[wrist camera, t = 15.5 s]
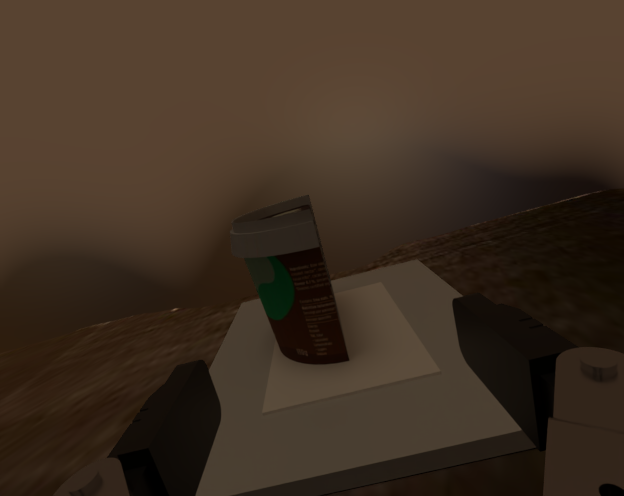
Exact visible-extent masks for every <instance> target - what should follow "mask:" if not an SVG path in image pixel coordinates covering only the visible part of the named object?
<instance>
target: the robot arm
mask: <svg viewBox="0 0 624 496" xmlns="http://www.w3.org/2000/svg"><path fill="white" fill-rule="evenodd" d="M452 307H453V313H454V319H455V325H456V330H457V336H458V342H459V347H460V350H461V353H462V355H463V358H464V360H465V361H466V363H467V364H468V366H469V367H470V368H471V369H472V371H473V372H474V373H475V374H476V375H477V377H478V378H479V379H480V380H481V381H482V383H483V384H484V385H485V386H486V387H487V389H488V390H489V391H490V392H491V393H492V394H493V396H494V397H495V398H496V399H497V400H498V402H499V403H500V404H501V405H502V406H503V408H504V409H505V410H506V411H507V412H508V414H509V415H510V416H511V417H512V418H513V420H514V421H515V422H516V423H517V424H518V426H519V427H520V428H521V429H522V430H523V432H524V433H525V434H526V435H527V436H528V438H529V439H530V440H531V441H532V442H533V444H534V445H535V446H536V447H537V448H538V450H539V451H544V450H546V459H545V474H544V489H543V496H624V354H622V353H620V352H617V351H613V350H609V349H604V348H596V347H580V348H579V347H578V346H576V345H574V344H573V343H571V342H570V341H568V340H567V339H565V338H564V337H562V336H560V335H559V334H557V333H556V332H554V331H553V330H551V329H550V328H548V327H547V326H543V324H542V323H540V322H539V321H537V320H536V319H532V317H531V316H529V315H528V314H526V313H525V312H523V311H522V310H520V309H518V308H514V307H511V306H508V305H504V304H498V305H496V304H494V303H493V302H491V301H490V300H489V299H487V298H486V297H484V296H483V295H482V294H480V293H474V294H470V295H466V296H462V297H458V298H454V299H453V301H452ZM220 422H221V405H220V401H219V398H218V395H217V392H216V390H215V387H214V384H213V381H212V379H211V376H210V373H209V370H208V368H207V365H206V363H205V362H204V361H203V360H197V361H193V362H189V363H185V364H181V365H178V366H176V368H175V369H174V371H173V372H172V374H171V375H170V377H169V378H168V380H167V381H166V383H165V384H164V385H162V386H161V387H160V388H159V389H158V390H157V391H156V392H154V393H153V394H152V395H151V396H150V397H149V398H148V399H147V401H146V402H145V404H144V405H143V407H142V408H141V410H140V413H138V414H137V415H136V417H135V418H134V420H133V423H132V424H130V425H129V427H128V428H127V430H126V431H125V433H124V434H123V435H122V437H121V438H120V440H119V441H118V443H117V444H116V445H115V447H114V448H113V450H112V451H111V453H110V454H109V456H108V457H107V458H105V459H101V460H98V461H96V462H94V463H91V464H89V465H88V466H86V467H84V468H83V469H81V470H79V471H78V472H77V473H75V474H74V475H73V476H71V477H70V478H69V479H68V480H67V481H66V482H64V483H63V484H62V485H61V486H60V488H59V489H58V490H57V491H56V492H55V494H54V495H53V496H195V495H196V492H197V490H198V487H199V484H200V481H201V478H202V475H203V472H204V469H205V466H206V463H207V460H208V457H209V454H210V451H211V449H212V446H213V443H214V440H215V437H216V434H217V431H218V428H219V425H220Z"/></svg>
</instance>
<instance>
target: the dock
mask: <svg viewBox="0 0 624 496" xmlns="http://www.w3.org/2000/svg"><path fill="white" fill-rule="evenodd" d="M331 284H332V288H333V292H334V296H335V300H336V304H337V308H338V313H339V317H340V321H341V326H342V330H343V334H344V339H345V343H346V347H347V352H348V356H349V361H346V362H341V363H335V364H326V365H312V364H303V363H299V362H295V361H293V360H290V359H288V358H287V357H286V356H284V355H283V353H282V352H281V350H280V348H279V345H278V343H277V340H276V338H275V335H274V333H273V330H272V328H271V325H270V323H269V320H268V317H267V315H266V312H265V310H264V307H263V305H262V302H261V300H260V299H256V300H252V301H248V302H244V303H242V304H241V306H240V308H239V310H238V312H237V314H236V316H235V318H234V321H233V323H232V325H231V327H230V329H229V331H228V333H227V335H226V337H225V339H224V341H223V343H222V345H221V347H220V349H219V351H218V353H217V355H216V357H215V359H214V361H213V363H212V365H211V367H210V369H209V373H210V376H211V379H212V381H213V384H214V387H215V390H216V392H217V395H218V398H219V401H220V405H221V422H220V425H219V428H218V431H217V434H216V437H215V440H214V443H213V446H212V449H211V451H210V454H209V457H208V460H207V463H206V466H205V469H204V472H203V475H202V478H201V481H200V484H199V487H198V490H197V492H196V495H195V496H320V495H324V494H329V493H333V492H338V491H342V490H347V489H351V488H356V487H360V486H365V485H369V484H374V483H378V482H383V481H387V480H392V479H396V478H401V477H405V476H410V475H414V474H419V473H424V472H428V471H433V470H437V469H442V468H446V467H451V466H455V465H460V464H464V463H469V462H473V461H478V460H482V459H487V458H491V457H496V456H500V455H505V454H509V453H514V452H518V451H523V450H527V449H532V448H536V446H535V445H534V444H533V442H532V441H531V440H530V439H529V438H528V436H527V435H526V434H525V433H524V432H523V430H522V429H521V428H520V427H519V426H518V424H517V423H516V422H515V421H514V420H513V418H512V417H511V416H510V415H509V414H508V412H507V411H506V410H505V409H504V408H503V406H502V405H501V404H500V403H499V402H498V400H497V399H496V398H495V397H494V396H493V394H492V393H491V392H490V391H489V390H488V389H487V387H486V386H485V385H484V384H483V383H482V381H481V380H480V379H479V378H478V377H477V375H476V374H475V373H474V372H473V371H472V369H471V368H470V367H469V366H468V364H467V363H466V361H465V360H464V358H463V355H462V353H461V350H460V347H459V342H458V336H457V330H456V325H455V319H454V313H453V307H452V301H453V299H454V298H458V297H462V295H461V294H460V293H458V292H457V291H456V290H455V289H453V288H452V287H451V286H450V285H448V284H447V283H446V282H445V281H443V280H442V279H441V278H440V277H438V276H437V275H436V274H435V273H433V272H432V271H431V270H430V269H428V268H427V267H426V266H425V265H423V264H422V263H421V262H420V261H418V260H413V261H409V262H405V263H401V264H397V265H393V266H389V267H385V268H381V269H377V270H373V271H369V272H365V273H361V274H357V275H353V276H349V277H345V278H341V279H337V280H333V281H331Z"/></svg>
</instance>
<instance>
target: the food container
mask: <svg viewBox="0 0 624 496" xmlns="http://www.w3.org/2000/svg"><path fill="white" fill-rule="evenodd" d="M232 227H233V229H232V230H231V231H230V236H231V247H232V254H233V255H234V256H236V257H241V258H244V259H245V262H246V264H247V267H248V269H249V272H250V274H251V277H252V279H253V282H254V284H255V287H256V289H257V292H258V295H259V297H260V300H261V302H262V305H263V307H264V310H265V312H266V315H267V317H268V320H269V323H270V325H271V328H272V330H273V333H274V335H275V338H276V340H277V343H278V345H279V348H280V350H281V352H282V353H283V355H284V356H286V357H287V358H288V359H290V360H293V361H295V362H299V363H303V364H312V365H326V364H335V363H341V362H346V361H349V356H348V352H347V347H346V343H345V339H344V334H343V330H342V326H341V321H340V317H339V313H338V308H337V304H336V300H335V296H334V292H333V288H332V284H331V280H330V276H329V273H328V269H327V265H326V261H325V257H324V253H323V249H322V245H321V241H320V237H319V233H318V229H317V225H316V222H315V218H314V213H313V210H312V206H311V202H310V198H309V195H306V196H301V197H298V198H294V199H291V200H287V201H283V202H280V203H277V204H274V205H270V206H267V207H264V208H261V209H258V210H255V211H252V212H249V213H247V214H245V215H242V216H239V217H237V218H235V219H233V220H232Z"/></svg>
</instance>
